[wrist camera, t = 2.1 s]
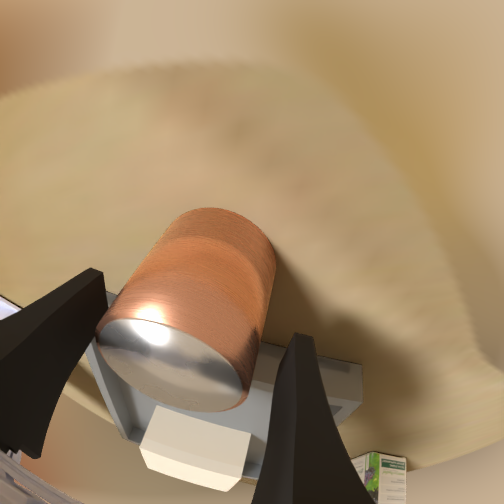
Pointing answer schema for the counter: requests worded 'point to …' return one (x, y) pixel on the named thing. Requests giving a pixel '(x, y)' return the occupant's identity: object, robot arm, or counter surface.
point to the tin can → (193, 313)
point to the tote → (240, 418)
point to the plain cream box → (194, 449)
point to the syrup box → (383, 477)
